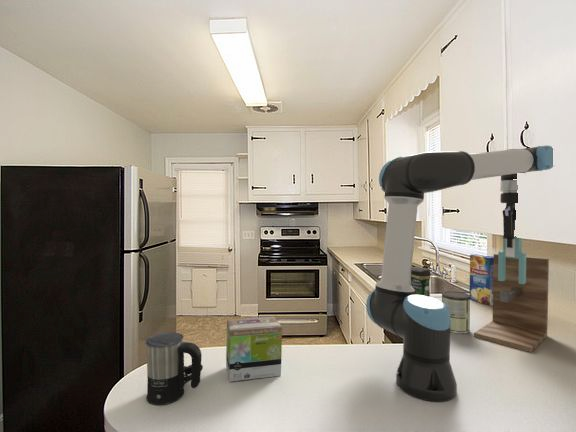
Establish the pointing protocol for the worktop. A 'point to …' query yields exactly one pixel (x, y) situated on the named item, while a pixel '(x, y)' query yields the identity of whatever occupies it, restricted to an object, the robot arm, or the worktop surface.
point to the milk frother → (170, 367)
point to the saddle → (518, 255)
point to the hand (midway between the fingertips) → (511, 255)
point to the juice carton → (481, 278)
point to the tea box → (253, 348)
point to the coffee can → (458, 310)
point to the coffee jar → (420, 281)
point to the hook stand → (519, 306)
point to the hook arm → (510, 294)
